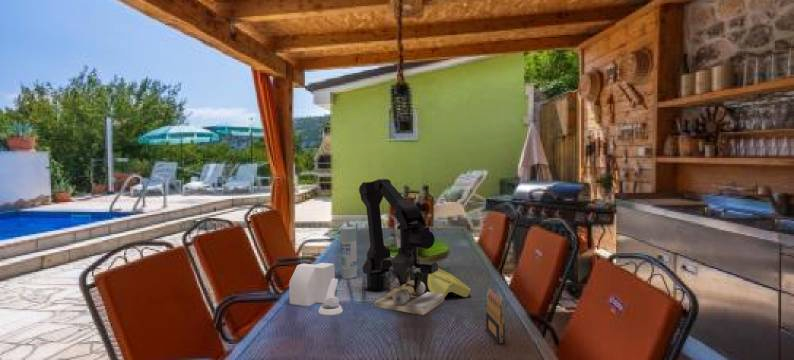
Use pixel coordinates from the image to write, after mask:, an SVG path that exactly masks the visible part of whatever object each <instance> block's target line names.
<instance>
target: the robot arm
mask: <svg viewBox="0 0 794 360" xmlns="http://www.w3.org/2000/svg"><path fill="white" fill-rule="evenodd" d="M358 193H359V195H360V200H361V202H362V203H363V205H365V207H366V208H365V209H366V217H367V226H368V236H369V244H370V247H369V248H368V251H367V253H366V260H365V262H364V264H363V265H362V272H363V274H366V287H365V288H364V290H366V291H371V292H378V293H379V292H383V291H385V290H386V289H388V288H389V286H388V283H387V282H388V281H387V280H388V279H387V276H386V275H387V273H389V272H391V273H393V274H394V275H395V276H396V278H397V280H398V284H399V286H401V285H403V284H405V283H406V273H407V270H408V269H415V271H414V272H413V273H412V275H413V277H414V290H415V292H417V290H418V288H419V285H420V283H421V282H422V280H423V278H424V276H425V275H428V274H432V273H434V272H436V271H438V268H439V264H438V262H436V261H431V260H430V261H429V260H428V261H427V260H426V261H423V263H419V262H420V260H421V259H420V258H419V257H418V256H419V255H418V254H419V252H418V251H419V250H420V249H424V250H429V249H431V248H432V247H433V246H434V244H435V240H436V239H435V236H434V233H433V232H431V231H430V227H428V226H427V224H426V220H425V218H424V216H423V214H422V211H421V210H420V208H419V206H417V205H416V204H415V203H413V202H412V201H408V200H407V199H405V198H404V196H403V195H402V194H401V193H400V192H399V191H398V190H397V188H396V187H395V186H394V185H393V184H392V182H391V180H390V179H388V178H380V179H376V180H373V181H364V182H362V183H361V185H359V188H358ZM383 199H385V200H386V201H387V203H388V204H389V205H390V206H391V207H392V209H393V211H394V214H393V215H394V217H395V218H396V220H397V223H398V225H397V227H396V229H397V230H399V234H400V235H399V240H400V242H399V244H400V247H398V248H397V249H398V250H397V251H398V252H397V254H396V255H395V256H394V257H393V256H391V250H390V248H387V247H386V245H385V243H384V233H383V225H382V224H383V223H382V215H381V214H382V213H381V209H380V208H381V206H380V205H381V204H382V203H381V202H382V201H383Z"/></svg>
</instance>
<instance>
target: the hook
mask: <svg viewBox="0 0 794 360" xmlns="http://www.w3.org/2000/svg"><path fill="white" fill-rule="evenodd" d="M338 282H339V279H338V278H332V279H331V282H330V285H329V289H328V292H327V295H326V299H325V304H324V303H323V304H322V305H320V307H319V308H318V312H317V313H318V314H320V315H324V316H336V315H339V314H342V312H343V307H342V306H341V304H339V298H338V297H336V296H335V297H334V294H335V295H336V289H337V286H338Z"/></svg>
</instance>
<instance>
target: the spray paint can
mask: <svg viewBox="0 0 794 360" xmlns="http://www.w3.org/2000/svg"><path fill="white" fill-rule="evenodd" d="M339 235H340V237H339V238H340V239H339V240H340V267H341V268H340V271H341V274H340V275H341V278H342V279H344V280H351V279H355V278H357V276H358V273H357V272H358V271H357V270H358V269H357V268H358V266H357V264H358V262H357V257H358V255H357V253H358V252H357V251H358V250H357V227H356V226H342V227H340V228H339Z"/></svg>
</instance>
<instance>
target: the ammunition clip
mask: <svg viewBox="0 0 794 360" xmlns="http://www.w3.org/2000/svg"><path fill="white" fill-rule="evenodd" d="M486 304H487V305H486V308H487V309H486V312H485V318H486V319H485V330H486V332H487V333H488V335H489V336H491V338H492V340H493V341H495V342H496V343H497V345H504V344H505V343H506V338H505V337H506V336H505V335H506V333H505V331H506V330H505V329H506V328H505V327H506V326H505V323H504V306H503V300H502V298H501V297H500V296H499V295H498V294H497V293H496V292H494V291H493V290H492V288H489V290H488V293H487V303H486Z"/></svg>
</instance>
